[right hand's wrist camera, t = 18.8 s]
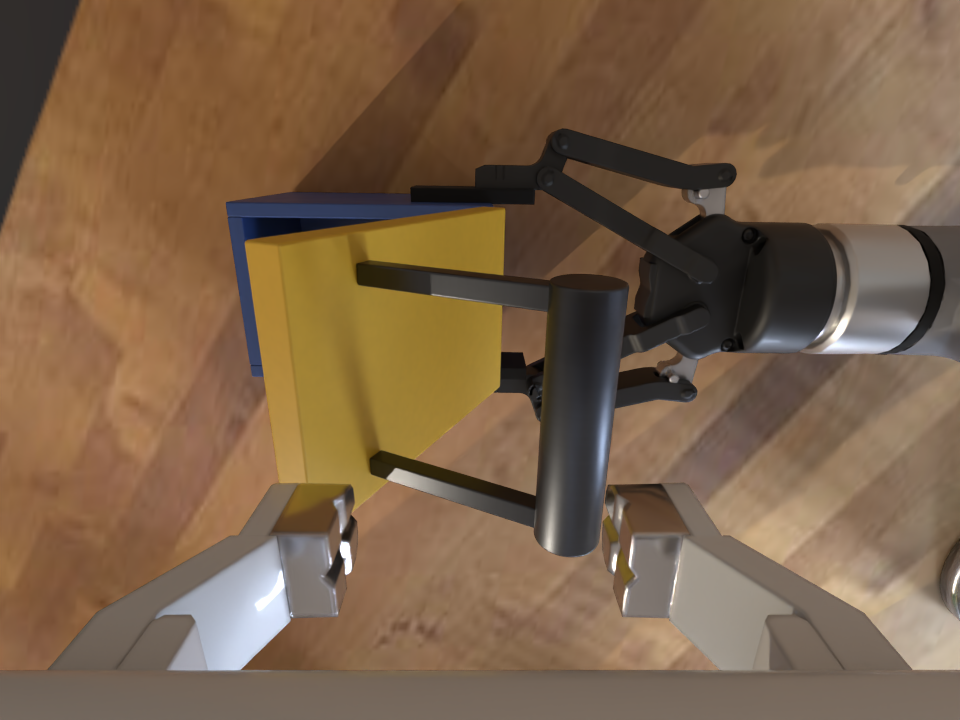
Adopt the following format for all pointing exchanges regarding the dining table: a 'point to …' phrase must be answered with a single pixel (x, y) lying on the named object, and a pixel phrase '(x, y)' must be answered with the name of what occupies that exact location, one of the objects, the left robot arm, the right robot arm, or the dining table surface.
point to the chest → (309, 215)
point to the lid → (432, 363)
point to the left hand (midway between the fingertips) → (416, 284)
